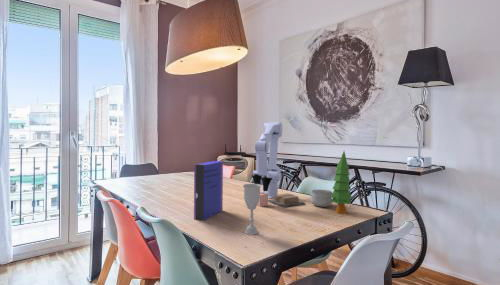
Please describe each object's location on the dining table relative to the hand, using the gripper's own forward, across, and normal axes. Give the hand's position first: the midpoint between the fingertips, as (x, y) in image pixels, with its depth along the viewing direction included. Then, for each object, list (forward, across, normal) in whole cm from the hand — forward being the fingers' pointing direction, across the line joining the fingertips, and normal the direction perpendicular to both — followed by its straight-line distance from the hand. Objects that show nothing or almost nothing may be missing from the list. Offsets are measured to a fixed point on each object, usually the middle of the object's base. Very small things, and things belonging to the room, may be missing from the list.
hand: (261, 189), depth 157 cm
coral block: (+8, 0, 0) cm, 8 cm away
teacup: (+8, +17, +28) cm, 34 cm away
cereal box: (+8, +4, -31) cm, 32 cm away
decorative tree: (+8, +30, +26) cm, 41 cm away
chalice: (+8, +34, -26) cm, 44 cm away
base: (+8, +3, +14) cm, 16 cm away
